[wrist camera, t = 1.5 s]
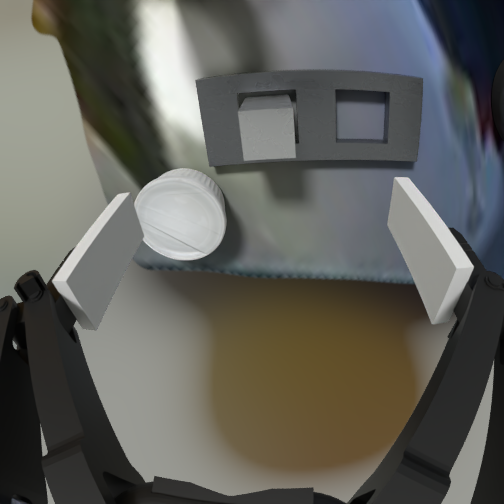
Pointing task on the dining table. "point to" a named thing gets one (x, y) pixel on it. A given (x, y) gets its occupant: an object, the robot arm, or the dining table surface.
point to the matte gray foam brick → (267, 127)
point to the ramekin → (182, 214)
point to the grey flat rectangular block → (313, 114)
